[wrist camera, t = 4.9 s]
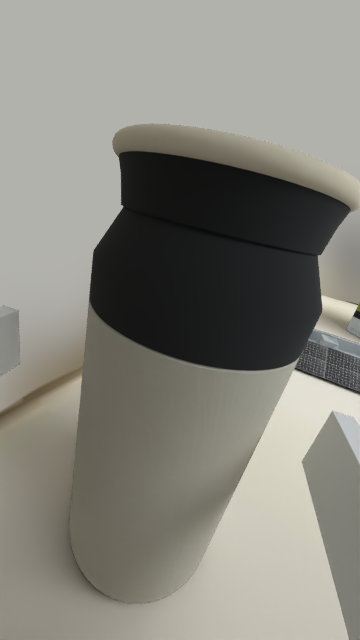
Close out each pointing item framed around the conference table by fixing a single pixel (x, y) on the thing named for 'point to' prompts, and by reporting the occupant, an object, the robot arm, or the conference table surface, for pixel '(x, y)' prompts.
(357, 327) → the tea box
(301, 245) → the travel mug
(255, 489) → the conference table surface
